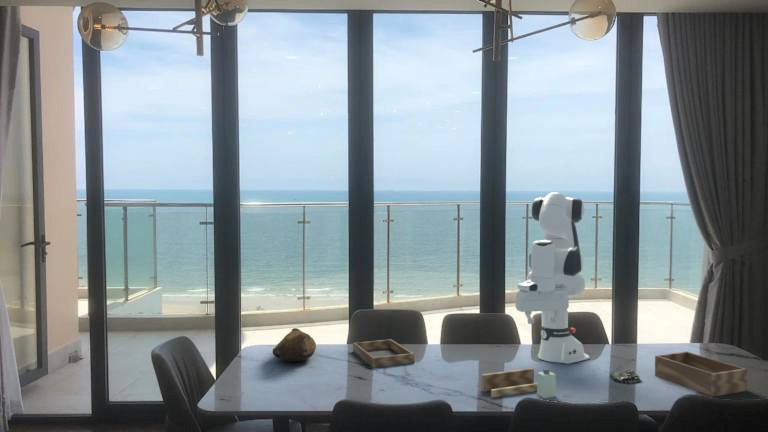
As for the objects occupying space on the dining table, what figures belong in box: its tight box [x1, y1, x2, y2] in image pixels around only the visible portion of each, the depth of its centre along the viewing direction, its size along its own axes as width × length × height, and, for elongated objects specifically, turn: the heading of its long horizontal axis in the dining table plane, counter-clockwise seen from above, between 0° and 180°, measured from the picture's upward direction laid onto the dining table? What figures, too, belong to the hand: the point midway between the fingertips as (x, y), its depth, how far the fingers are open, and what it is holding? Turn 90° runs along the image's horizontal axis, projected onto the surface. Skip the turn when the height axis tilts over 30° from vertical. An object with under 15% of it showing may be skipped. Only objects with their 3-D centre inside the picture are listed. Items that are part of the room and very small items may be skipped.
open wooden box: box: [654, 351, 748, 397], centre depth 219 cm, size 17×26×8 cm, turn 21°
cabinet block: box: [536, 368, 557, 399], centre depth 205 cm, size 5×4×10 cm
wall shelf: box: [480, 367, 537, 398], centre depth 211 cm, size 22×8×6 cm, turn 111°
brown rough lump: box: [272, 327, 317, 363], centre depth 252 cm, size 37×18×15 cm, turn 175°
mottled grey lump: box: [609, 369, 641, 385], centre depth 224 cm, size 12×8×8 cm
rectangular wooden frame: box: [352, 338, 415, 368], centre depth 256 cm, size 19×27×4 cm
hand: (542, 323), depth 207 cm, fingers open, 8 cm apart
